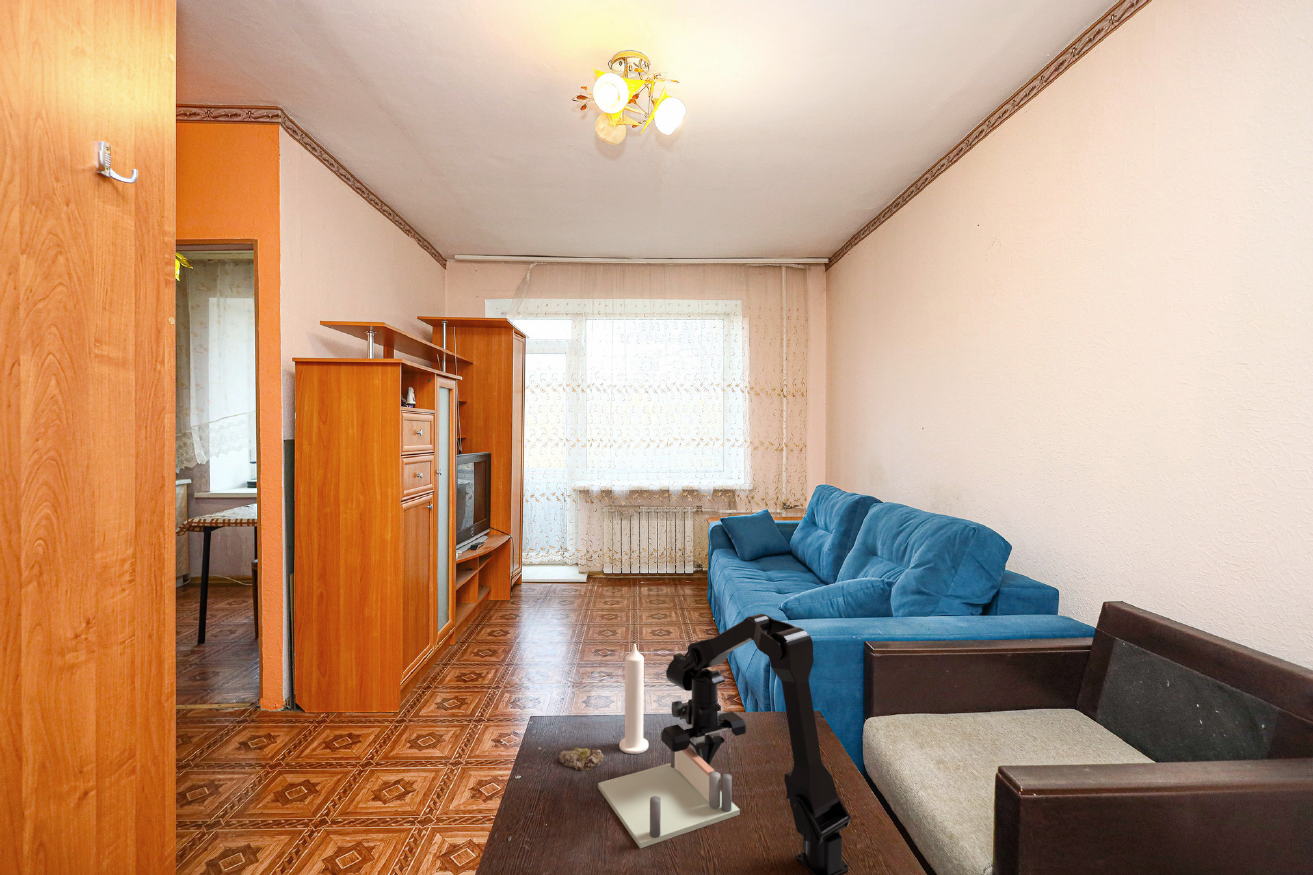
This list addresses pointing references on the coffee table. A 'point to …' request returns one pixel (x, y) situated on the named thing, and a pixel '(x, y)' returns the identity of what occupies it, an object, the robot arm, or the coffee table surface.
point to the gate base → (664, 803)
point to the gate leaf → (699, 775)
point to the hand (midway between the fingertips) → (704, 769)
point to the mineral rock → (581, 758)
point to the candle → (634, 704)
